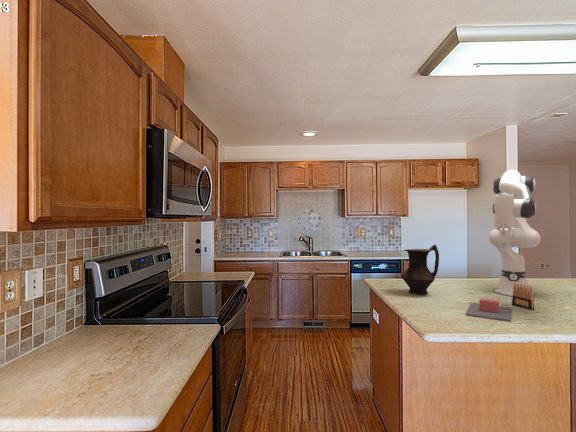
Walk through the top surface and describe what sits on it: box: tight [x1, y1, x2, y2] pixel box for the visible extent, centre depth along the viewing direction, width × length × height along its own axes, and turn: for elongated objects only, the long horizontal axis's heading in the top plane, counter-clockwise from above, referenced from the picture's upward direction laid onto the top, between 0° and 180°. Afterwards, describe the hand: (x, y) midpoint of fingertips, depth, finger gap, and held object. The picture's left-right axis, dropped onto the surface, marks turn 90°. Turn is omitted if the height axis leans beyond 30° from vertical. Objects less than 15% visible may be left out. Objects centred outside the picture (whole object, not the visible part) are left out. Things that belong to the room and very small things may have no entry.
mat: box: [465, 302, 512, 322], centre depth 168 cm, size 24×18×1 cm
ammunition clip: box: [511, 283, 535, 311], centre depth 176 cm, size 11×2×12 cm, turn 17°
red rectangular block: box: [478, 298, 500, 313], centre depth 168 cm, size 8×4×5 cm, turn 57°
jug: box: [401, 244, 440, 296], centre depth 206 cm, size 21×18×30 cm
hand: (504, 251), depth 174 cm, fingers open, 8 cm apart
